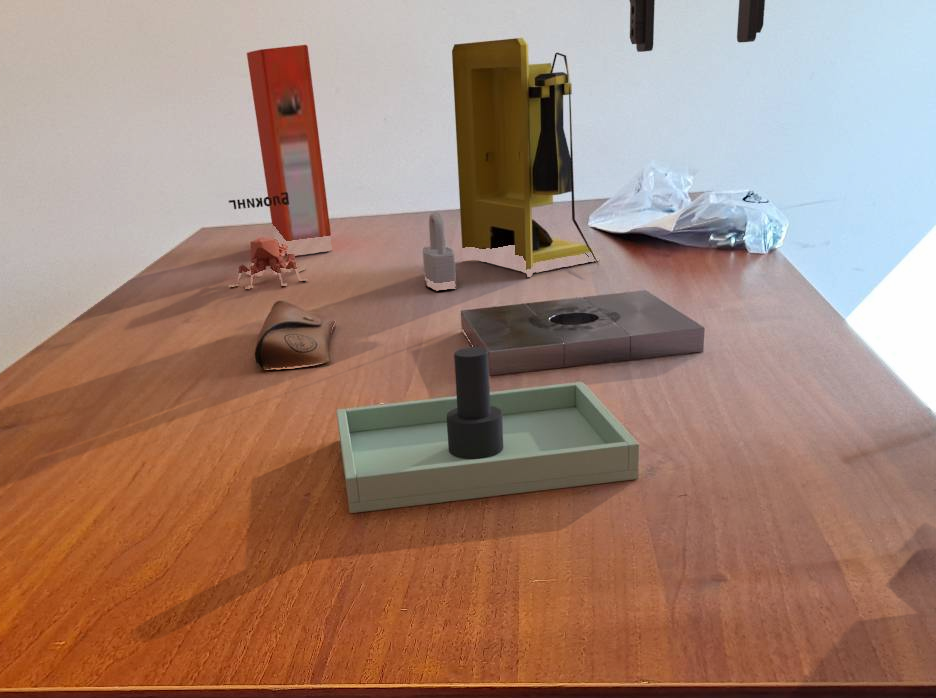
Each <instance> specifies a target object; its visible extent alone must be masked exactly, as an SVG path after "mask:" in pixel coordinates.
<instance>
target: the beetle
mask: <svg viewBox="0 0 936 698" xmlns="http://www.w3.org/2000/svg"><path fill="white" fill-rule="evenodd" d="M281 195H286V197H283V198H282V200H281V202H282V203H283V204H284V205H289V199H288V192H284V193H281ZM275 198H277V201H278V204H280V205H282V203H281V202H280V199H279V196H274V197H273V202H274V206H276V200H275ZM245 200H246V201H245ZM267 200H268V202H267ZM284 200H286V202H284ZM236 201H237V202H236ZM255 201H256V202H257V203H256V205H255ZM228 203H229V204H231V203H232V204H233V210H237V207H238V210H240V209H241V210H242V207H243V209H246V208H247V209H251V207H252V208H253V209H255V208H259V207H261V208H262V207H264V206H265V207H269V206H271V205H272V200H271V198H270V197H268V196H265V197H264V198H262V197H259V198H258V197H255V198H251V200H250V198H246V199H245V198H242V202H241V201H240V199H230V200H228ZM236 203H237V204H236ZM246 205H247V206H246ZM269 208H270V207H269ZM282 246H283V247H280V246H279V243H278V240H276V239H274V238H269V237H264V236H261V237H260V236H259V238H256V239H254V240H252V241H250V263H251V262H252V263H254V265H253V266H251V265H250V267H247V266H246V265H245V264H239V265H238V272H237V274H238V273H242V274H243V273H245V272H247V271H250V270H251V275H253V274H255V273H258V272H260V271H263V270H265V269H266V270H267V267H270V270H271V269H272V270H273V271H275V272H277V273H281V274H282V270H281V269H280V268H286V269H291V268H292V270H293V269H297V267H296V263H297V261H296V262H295V261H294V260H296V257H294V254H288V255H286V252H287V250H288V249H287V248H288V246H286V245H285V244H282ZM285 255H286V256H287V257H286V259H284V257H285ZM292 260H293V261H292ZM285 261H286V262H289V263H288V265H287V266H286V264H285V263H286V262H285ZM272 270H271V271H272Z"/></svg>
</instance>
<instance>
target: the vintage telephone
mask: <svg viewBox="0 0 936 698" xmlns="http://www.w3.org/2000/svg"><path fill="white" fill-rule="evenodd" d="M557 56H561V57H563V59H564V63H565V70H566V72H564V71H557V72H554V69H555V65H556V61H557ZM451 61H452V62H451V63H452V79H453V80H452V81H453V98H454V100H453V101H454V119H455V138H456V139H455V140H456V155H457V175H458V193H459V196H458V197H459V213H460V215H459V216H460V230H461V232H460V234H461V249H462V248H465V247H475V248H479V249H486V248H490V249H492V248H498V247H503V246H508V245H515V255H519V256H523V258H524V260H525V261H526V270H527V269H531V268H532V267H533V263H536V262H540V261H546V260H551V259H552V260H553V259H556V258H562V257H567V256H573V255H574V256H575V255H580V254H584V253H585V254H586V253H589V252H591V253H592V255H593V257H594V259H595V260H596V258H595V256H594V254H593V252H594V251H593V249H592V248H591V246H590V245H589V244H588V241H587V239H586V237H585V236H584V234H583V232H582V230H581V228H580V225H579V224H578V222H577V220H576V215H575V214H576V212H575V211H576V209H575V184H574V161H573V160H574V157H573V156H574V153H573V129H572V128H573V127H572V123H573V122H572V103H571V102H572V101H571V100H572V99H571V96H572V94H573V93H572V82H571V78H570V73H569V72H570V71H569V65H568V58H567V54H566V55H565V54H564V53H560V52H558V51H557V52H555V54H554V57H553V61H552V62H549V63H546V62H545V63H529V61H530V60H529V44H528V43H527V41H526V40H525V39H524V37H516V38H507V39H496V40H487V41H484V40H483V41H477V42H476V41H475V42H466V43H455V44H454V45H453V47H452V50H451ZM564 96H568V105H569V106H568V107H569V109H568V111H569V145H570V147H569V145H568V142H567V137H566V134H565V128H564ZM569 148H570V149H569ZM568 193H571V220H572V222H573V224H574V225H575V227H576V229H577V231H578V232H579V234H580V237H581V238H582V239H583V242H584V243H579V242H574V241H569V240H565V239H559V238H554V237H551V236H550V234H549V232H548V231H547V230H546V229H545V228H543V226H542V225H540V224H539V223H538V222H537V221H536V220H534V219H533V212H532V211H533V209H532V208H538V207H544V206H549V205H553V204H554V196H559V195H563V194H568ZM586 255H587V254H586ZM587 256H588V255H587ZM588 257H589V256H588ZM595 264H596V265H597V264H598V265H597V266H600V264H599V261H598V262H597V260H596V262H595Z"/></svg>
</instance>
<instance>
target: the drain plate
mask: <svg viewBox="0 0 936 698" xmlns="http://www.w3.org/2000/svg"><path fill="white" fill-rule="evenodd" d="M460 326H461V327H462V328H461V330H462V329H463V330H464V332H465V333H466V335H467V337H468V339H469V340H470V342H471V344H472V345H473V347H477V348H484V349H486V350H487V351H488V364H489V377H491V375H492V376H499V375H500V374H501V375H508V374H509V375H510V374H517V373H525V372H526V373H527V372H535V371H544V370H545V371H546V370H553V369H562V368H571V367H580V366H588V365H598V364H606V363H615V362H624V361H631V360H632V361H634V360H643V359H650V358H660V357H669V356H677V355H686V354H694V353H703V352H704V347H705V331H706V330H705V327H704V326H703V325H701V324H700V323H698V322H697V321H695V320H693V319H692V318H691V317H689V316H687V315H686V314H684V313H682V312H681V311H679V310H678V309H676V308H675V307H673V306H672V305H670V304H669V303H667V302H665V301H664V300H662V299H661V298H660V297H657V296H656V295H654V293H651V292H650V291H648V290H646V289H644V290H634V291H627V292H626V291H625V292H616V293H615V292H614V293H607V294H597V295H589V296H580V297H569V298H560V299H554V300H544V301H533V302H526V303H517V304H509V305H508V304H506V305H498V306H497V305H496V306H489V307H481V308H471V309H462V310H460Z"/></svg>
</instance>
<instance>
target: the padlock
mask: <svg viewBox="0 0 936 698" xmlns="http://www.w3.org/2000/svg"><path fill="white" fill-rule="evenodd" d="M444 224H445V223H444V219H443V217H442V215H441V214H440V213H439V212H437V211H433V212H432V213H430V215H429V218H428V227H429V228H428V229H429V230H428V231H429V245H430V246H428V247H427V246H424V247H422V258H423V273H425V276H424V278H425V277H426V278H427V279H429V280H430V281H433V282H434V283H443V282H450V281H456V282H457V277H456V276H457V275H456V260H455V259H456V258H455V252H454V250H453V249H452V248H450V247H448V246H446V233H445V225H444Z"/></svg>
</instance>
